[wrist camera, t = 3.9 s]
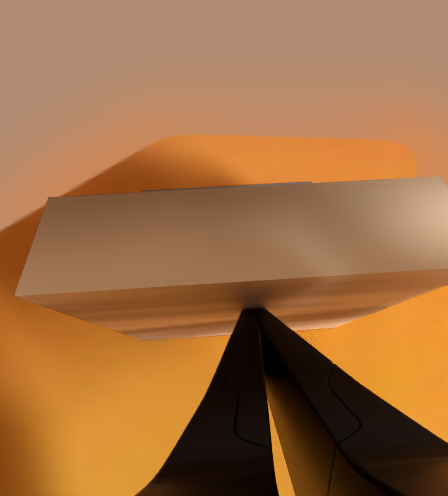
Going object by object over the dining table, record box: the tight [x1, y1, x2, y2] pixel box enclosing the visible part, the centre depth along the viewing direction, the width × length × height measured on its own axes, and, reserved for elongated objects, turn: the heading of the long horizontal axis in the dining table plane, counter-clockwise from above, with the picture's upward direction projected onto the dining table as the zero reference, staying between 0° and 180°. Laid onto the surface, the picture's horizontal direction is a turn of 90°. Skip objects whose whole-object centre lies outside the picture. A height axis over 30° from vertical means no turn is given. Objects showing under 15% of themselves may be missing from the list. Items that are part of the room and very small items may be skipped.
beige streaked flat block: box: [14, 176, 448, 341], centre depth 11 cm, size 3×12×10 cm, turn 94°
